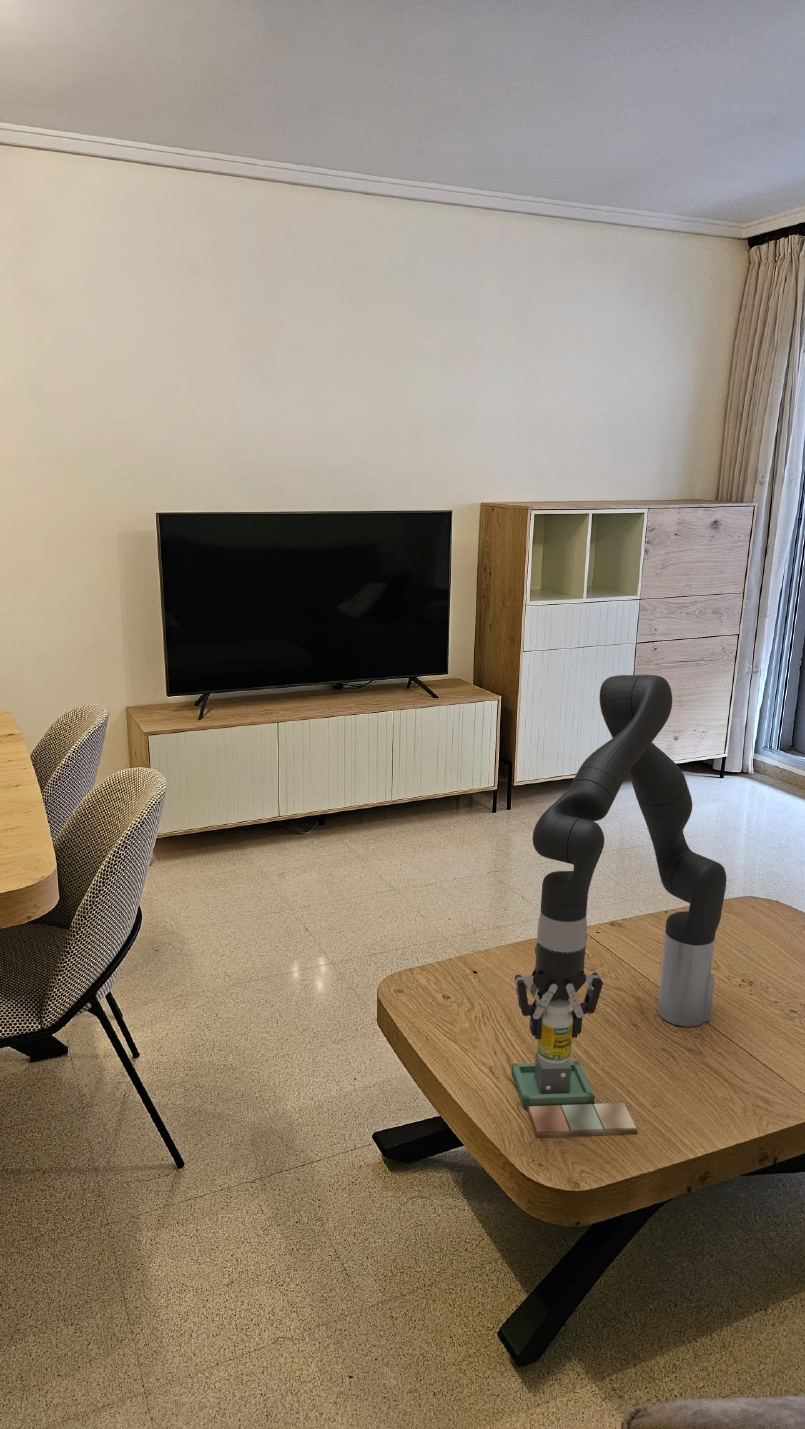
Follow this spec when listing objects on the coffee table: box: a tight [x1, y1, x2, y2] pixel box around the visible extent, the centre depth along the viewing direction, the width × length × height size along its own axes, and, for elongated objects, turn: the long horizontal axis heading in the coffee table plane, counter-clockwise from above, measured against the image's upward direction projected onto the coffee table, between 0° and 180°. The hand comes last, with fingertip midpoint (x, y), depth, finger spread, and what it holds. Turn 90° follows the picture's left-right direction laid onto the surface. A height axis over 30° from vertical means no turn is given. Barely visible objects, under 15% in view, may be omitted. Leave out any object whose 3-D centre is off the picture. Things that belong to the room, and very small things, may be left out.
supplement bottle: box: [536, 1000, 573, 1064], centre depth 156 cm, size 5×5×10 cm
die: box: [534, 1051, 571, 1094], centre depth 169 cm, size 5×5×5 cm
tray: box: [511, 1060, 596, 1109], centre depth 169 cm, size 12×10×2 cm
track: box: [526, 1102, 639, 1139], centre depth 161 cm, size 16×7×1 cm, turn 95°
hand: (554, 1035), depth 157 cm, fingers closed on supplement bottle, 5 cm apart
